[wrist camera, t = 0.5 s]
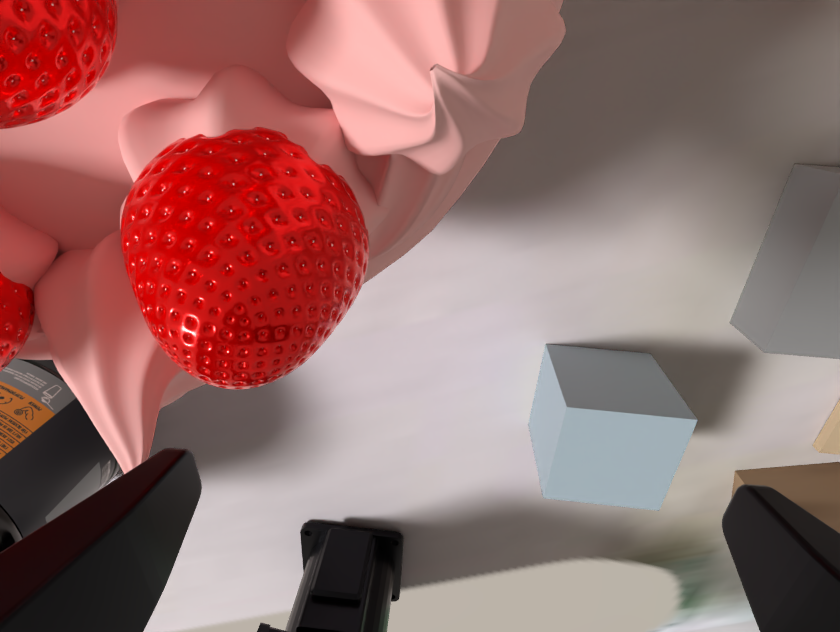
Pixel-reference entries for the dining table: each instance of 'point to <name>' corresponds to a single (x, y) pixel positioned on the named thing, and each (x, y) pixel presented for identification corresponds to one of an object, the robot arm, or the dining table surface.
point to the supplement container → (44, 449)
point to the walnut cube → (802, 487)
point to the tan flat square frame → (830, 434)
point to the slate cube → (607, 427)
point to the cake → (231, 176)
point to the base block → (797, 271)
